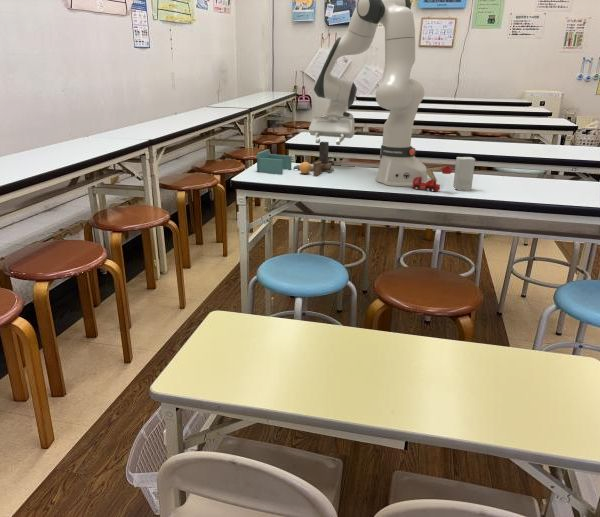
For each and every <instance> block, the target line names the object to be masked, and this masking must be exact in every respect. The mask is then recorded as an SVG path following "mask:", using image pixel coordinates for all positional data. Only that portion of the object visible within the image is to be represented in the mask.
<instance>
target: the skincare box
mask: <svg viewBox="0 0 600 517" xmlns="http://www.w3.org/2000/svg"><path fill="white" fill-rule="evenodd" d="M455 158H456V159H455V165H454V166H455V167H454V177H453V185H452V187H454V188H455V189H471V190H472V187H473V179H474V173H475V165H476V164H475V163H476V158H474V157H472V156H457V157H455ZM454 188H453V189H454ZM455 189H454V190H455Z"/></svg>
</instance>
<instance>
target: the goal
mask: <svg viewBox="0 0 600 517" xmlns="http://www.w3.org/2000/svg"><path fill="white" fill-rule="evenodd" d="M292 158H293V157H292V155H285V154H271V152H270V149H268V148H267V149H264V150H262V151H259V152H257V153H256V173H262V174H272V175H283V174H284V173H283V172H284V170H285V169H289V170H288V171H291V170H292Z"/></svg>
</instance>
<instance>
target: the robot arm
mask: <svg viewBox="0 0 600 517" xmlns="http://www.w3.org/2000/svg"><path fill="white" fill-rule="evenodd" d="M411 2H412V1H411V0H357V2H356V3H357V4H356V6H355V9H354V11H353V13H352V16H351V18H350V20H349V24H348V27H347V30H346V32H345V33H344V35H343V36H341V37H337V38H336V40H335V41H334V43H333V45H332V47H331V49H330V51H329V53H328V56H327V58H326V60H325V62H324V63H323V66H322V69H321V71H320V72H319V74H318V75H317V77H316V79H315V80H314V84H313V91H314V93H315V95H316V96H317V97H318V98H322V99H326V100H329V106H328V108H327V110H326V113H325V115H324V116H316V117H313V118H311V122H310V125H309V127H308V132H309V134H310V135H311V136H315V144H320V142H321V138H320V137H327V138H328V137H331V138H338V139H336V142H335V144H336V145H337V146H340V145H341V143H342V142H343V141H344V140H345V139H351V138H353V137H354V135H355V118H354V115H353V113H350V112H348V110H349V107H351V106H352V105H353V104H354V102H355V97H356V95H357V91H358V90H357V86H356V84H355V83H354V82H353V81H352V80H348V79H344V78H341V77H338V76H334V75H332V74H331V72H332V70H333V68H334V66H335V64H336V62H337V60H338V59H340V58H341V57H344V56H345V57H346V56H352V55H353V56H354V55H360V54H363V53H364V52H367V51H368V49H369V48H370V47H371V46H372V43H373V41H374V38H375V34H376V32H377V28H378V25H379V24H382V25H383V27H384V68H383V73H382V77H381V81H380V84H379V85H378V87H377V88H376V91H375V100H376V103H377V104H378V106H379V107H380V108H382V109H385V110H387V111H389V115H388V117H387V119H386V121H385V122H384V124H383V131H382V143H381V145H380V153H379V157H380V158H379V159H380V161H379V166H378V171H377V175H376V176H375V177H376V178H375V181H376V182H379V183H381V184H383V185H385V186H388V187H389V186H391V187H392V186H393V187H410V188H412V187H413V180H414V178H416V177H422V179H421V183H426V182H428V181H429V180H431V179H430V177H429V176H428V174H427V173H426V171H427V170H428V169H427V167H426V165H425V164H424V163H423V162H422V161H420V160H419V159H418V158H417V157H416V156H415V155H416V148H415V147H413V146H412V145H411V143H412V136H413V127H414V123H415V119H416V115H417V113H418V109H419V106H420V103H421V102H422V101H423V99H424V96H425V89H424V86H423V84H422V83H420V82H419V81H417V80H415V79H413V78H410V77H411V71H412V68H413V66H414V64H415V62H416V28H415V26H416V25H415V18H414V14H413V13H414V12H413V11H412V4H411Z"/></svg>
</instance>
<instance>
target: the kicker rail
mask: <svg viewBox="0 0 600 517" xmlns="http://www.w3.org/2000/svg"><path fill="white" fill-rule="evenodd" d="M313 166H314V165H311V170H310V172H312V171H313ZM299 167H300V164H297V165H295V166H293V170H294V169H299ZM298 171H300V169H299V170H298ZM332 171H333V172H334V171H335V168H334V167H331V168H330V169H321V173H323V172H328V173H327V174H332V173H333V172H332Z"/></svg>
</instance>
